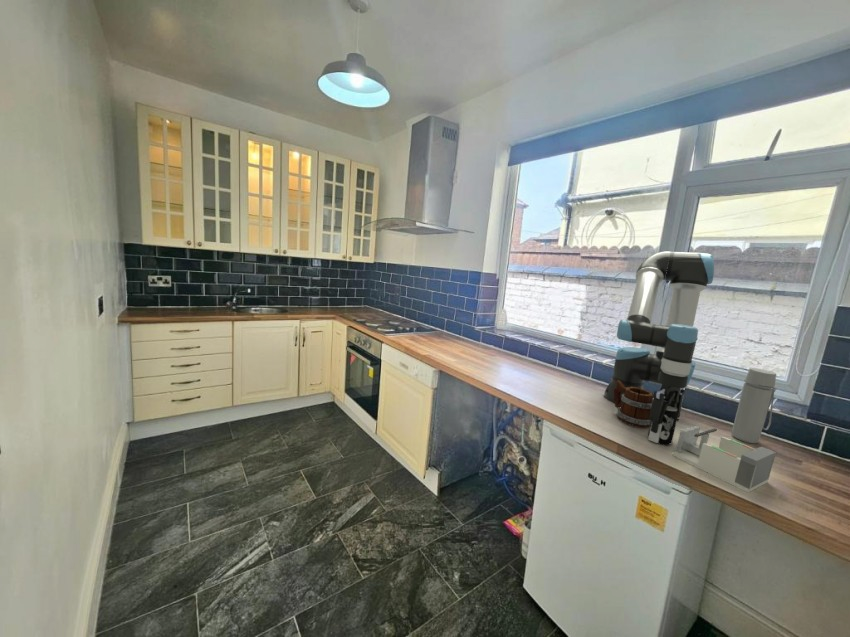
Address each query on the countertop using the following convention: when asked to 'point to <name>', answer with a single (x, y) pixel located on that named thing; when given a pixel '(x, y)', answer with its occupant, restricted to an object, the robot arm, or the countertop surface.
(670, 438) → the beverage can
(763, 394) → the water bottle
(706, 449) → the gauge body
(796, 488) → the countertop surface
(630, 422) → the mug
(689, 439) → the grey angled piece
